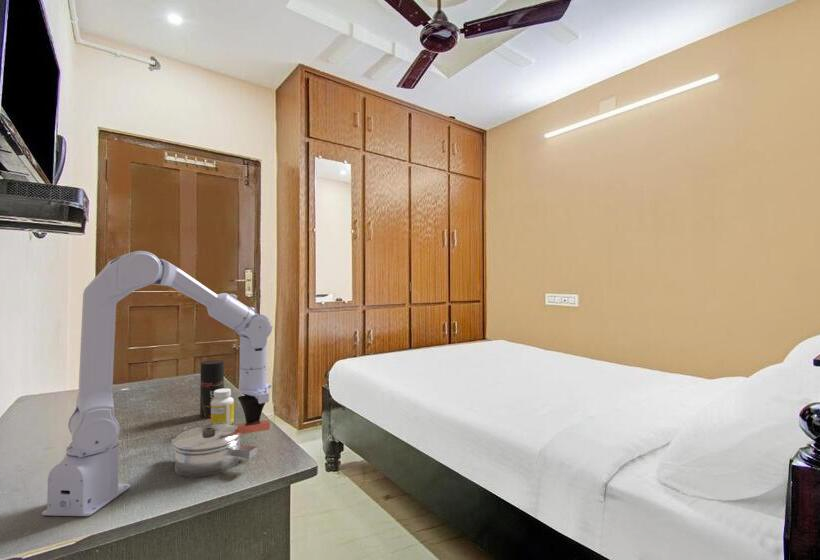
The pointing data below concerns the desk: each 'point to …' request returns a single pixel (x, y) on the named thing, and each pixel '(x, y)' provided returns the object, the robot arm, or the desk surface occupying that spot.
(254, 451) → the pot
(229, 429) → the lid
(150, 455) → the desk surface
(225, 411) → the supplement bottle
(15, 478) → the desk surface
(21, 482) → the desk surface
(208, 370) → the deodorant
